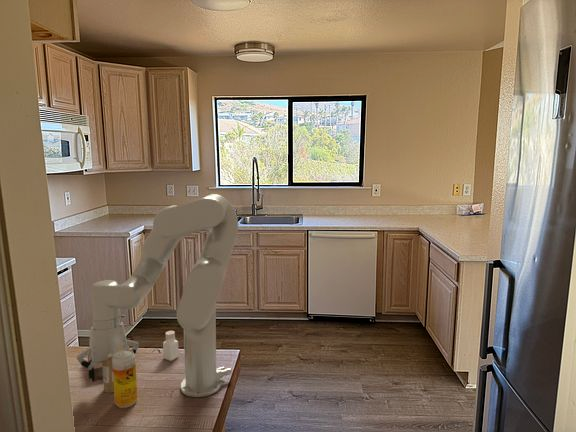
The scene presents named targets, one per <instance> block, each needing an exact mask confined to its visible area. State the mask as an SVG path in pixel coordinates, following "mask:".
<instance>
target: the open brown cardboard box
mask: <svg viewBox="0 0 576 432" xmlns="http://www.w3.org/2000/svg"><path fill="white" fill-rule="evenodd" d="M127 350H131V348H130V346H129V345H127ZM90 359H91V357H90V354H88V355H87V362H88V361H89V360H90ZM93 367H94V376H95V381H98V380H103V370H102V361H101V362H96V364H95V365H94V366H93Z"/></svg>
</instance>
